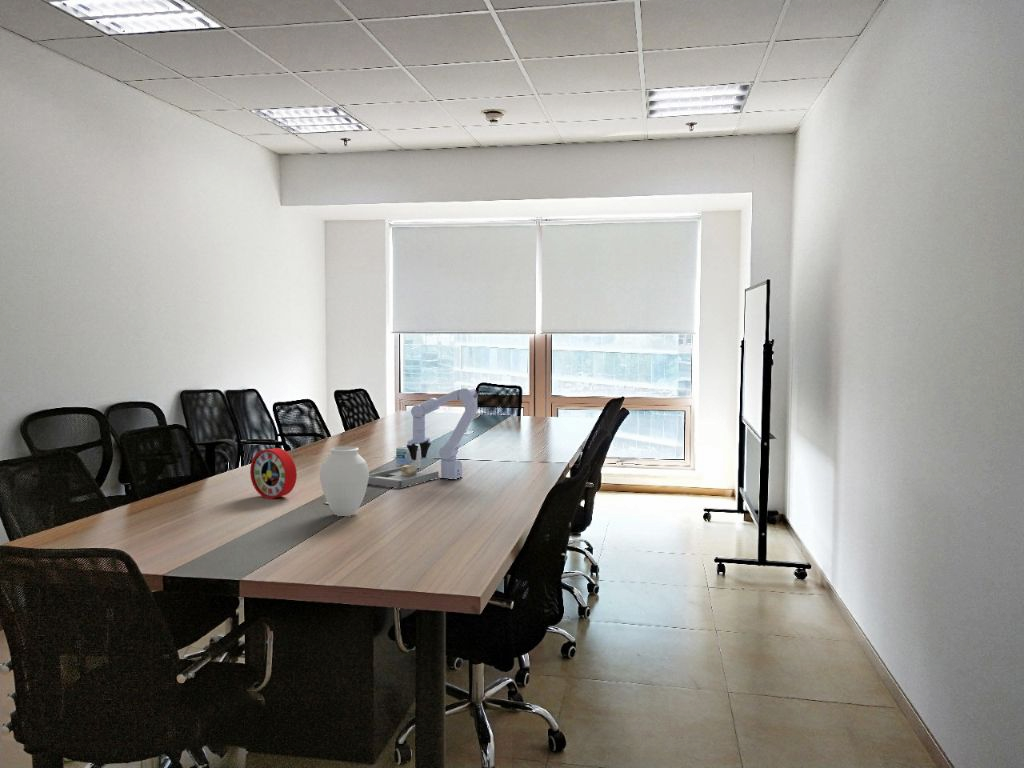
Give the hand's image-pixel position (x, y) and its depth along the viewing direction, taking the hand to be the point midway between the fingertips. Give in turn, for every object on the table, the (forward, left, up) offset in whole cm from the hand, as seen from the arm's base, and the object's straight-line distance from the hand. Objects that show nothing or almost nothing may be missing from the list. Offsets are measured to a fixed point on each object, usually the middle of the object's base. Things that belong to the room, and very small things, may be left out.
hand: (418, 458), depth 364 cm
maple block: (0, +7, -7) cm, 10 cm away
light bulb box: (+18, -15, -9) cm, 25 cm away
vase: (-24, +75, -9) cm, 80 cm away
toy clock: (+22, +68, -9) cm, 72 cm away
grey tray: (0, +13, -9) cm, 16 cm away
